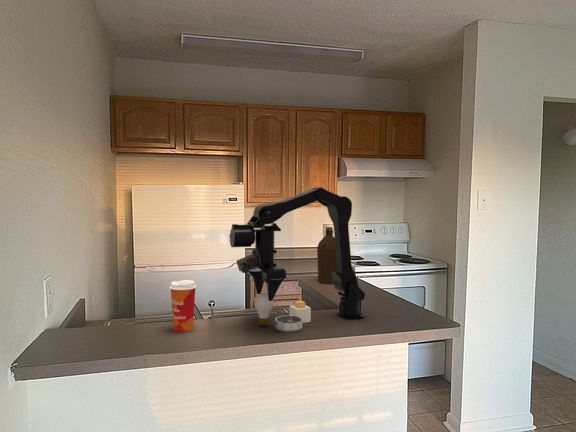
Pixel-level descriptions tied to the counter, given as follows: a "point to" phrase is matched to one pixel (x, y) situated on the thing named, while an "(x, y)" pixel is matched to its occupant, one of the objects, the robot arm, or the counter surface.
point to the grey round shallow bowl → (288, 323)
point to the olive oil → (326, 257)
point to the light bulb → (263, 307)
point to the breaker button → (299, 304)
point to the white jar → (301, 313)
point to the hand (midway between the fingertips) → (264, 297)
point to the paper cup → (183, 305)
